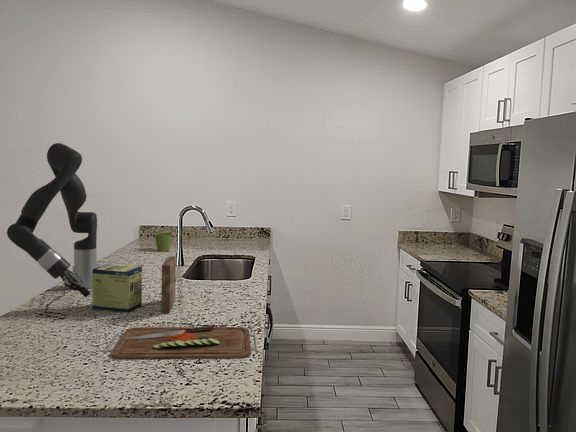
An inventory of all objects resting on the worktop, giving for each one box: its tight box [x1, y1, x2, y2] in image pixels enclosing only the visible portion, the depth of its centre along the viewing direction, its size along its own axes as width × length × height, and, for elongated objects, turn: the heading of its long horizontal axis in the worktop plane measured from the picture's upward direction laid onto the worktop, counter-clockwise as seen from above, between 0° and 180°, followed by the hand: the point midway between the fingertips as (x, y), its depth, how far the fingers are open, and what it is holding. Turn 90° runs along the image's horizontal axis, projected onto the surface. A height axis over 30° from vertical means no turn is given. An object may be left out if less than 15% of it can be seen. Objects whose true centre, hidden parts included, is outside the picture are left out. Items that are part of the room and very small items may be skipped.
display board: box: [160, 255, 177, 314], centre depth 202 cm, size 3×20×18 cm, turn 6°
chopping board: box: [103, 325, 259, 360], centre depth 162 cm, size 45×27×3 cm, turn 96°
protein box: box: [91, 264, 143, 314], centre depth 198 cm, size 10×16×16 cm
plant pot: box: [153, 232, 174, 253], centre depth 332 cm, size 12×12×11 cm
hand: (88, 295), depth 197 cm, fingers closed
